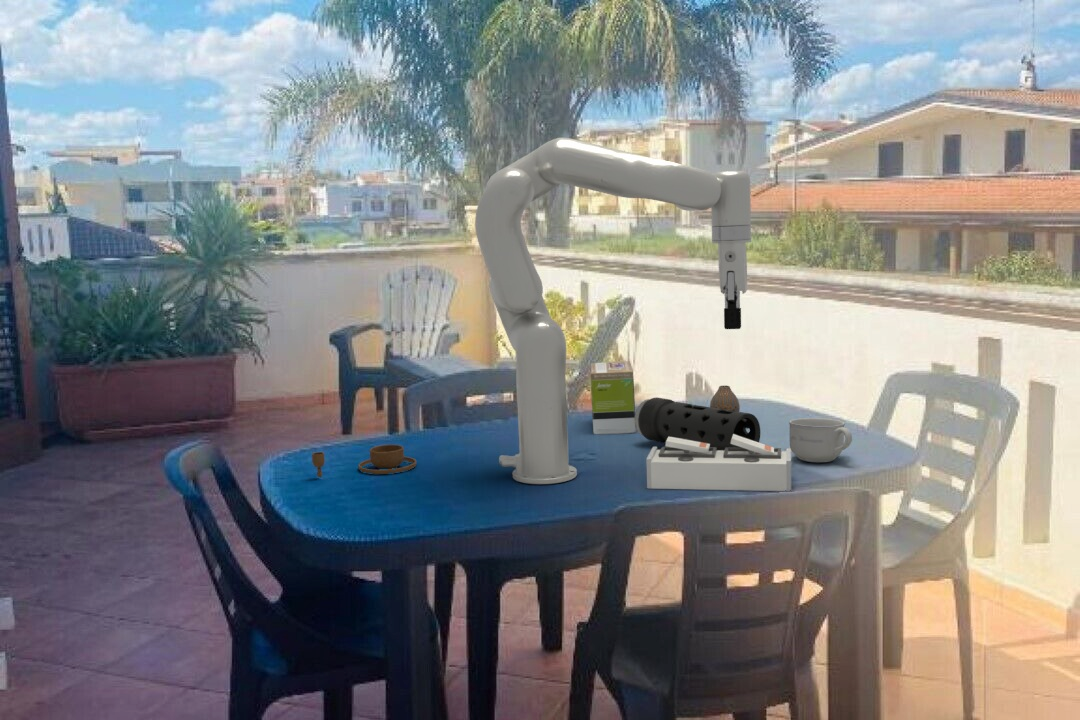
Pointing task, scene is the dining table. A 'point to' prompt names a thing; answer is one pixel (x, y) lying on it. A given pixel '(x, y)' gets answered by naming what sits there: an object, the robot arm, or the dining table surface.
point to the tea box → (612, 398)
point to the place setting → (375, 460)
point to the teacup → (818, 438)
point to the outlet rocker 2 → (752, 445)
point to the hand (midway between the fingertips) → (732, 328)
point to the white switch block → (719, 469)
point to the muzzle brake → (693, 423)
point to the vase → (725, 399)
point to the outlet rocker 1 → (687, 445)
